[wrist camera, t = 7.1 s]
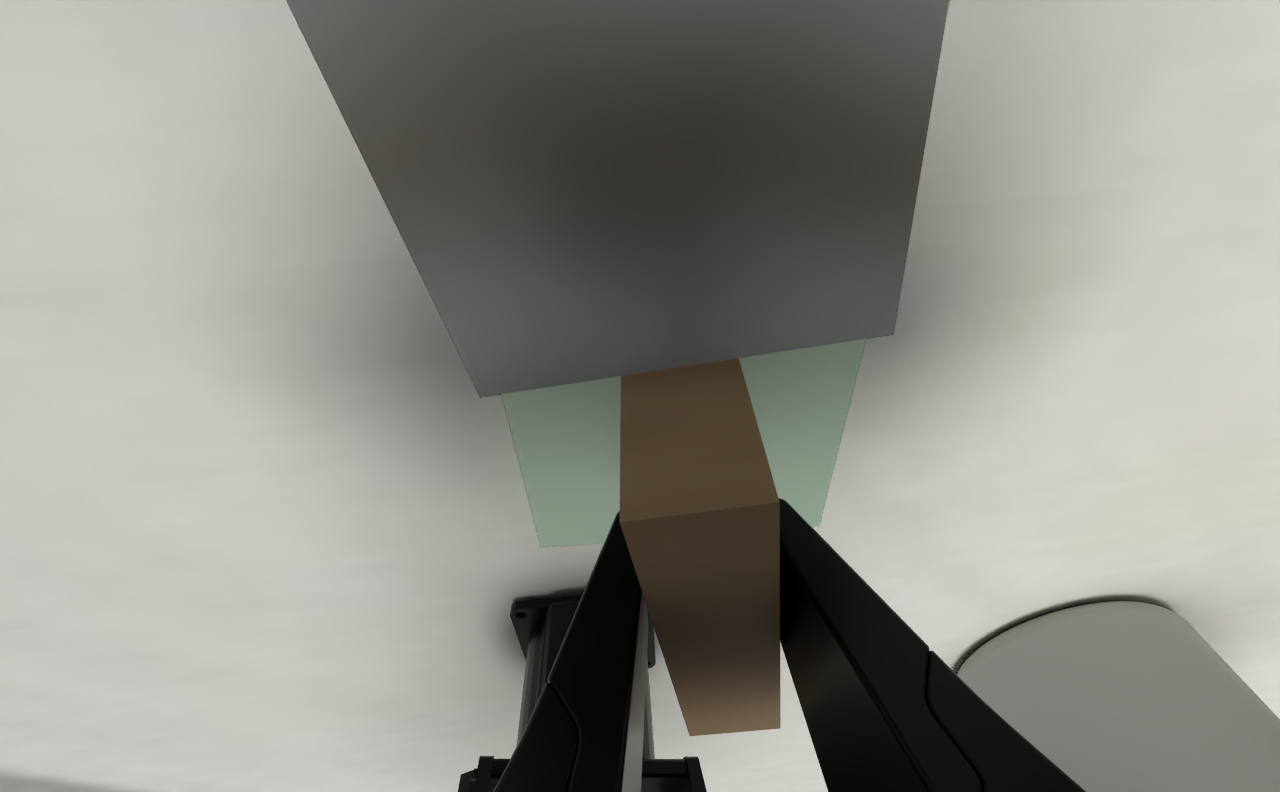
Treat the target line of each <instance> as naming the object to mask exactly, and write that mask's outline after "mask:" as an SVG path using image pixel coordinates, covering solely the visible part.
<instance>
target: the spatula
mask: <svg viewBox="0 0 1280 792" xmlns="http://www.w3.org/2000/svg"><path fill="white" fill-rule="evenodd" d="M286 1H287V3H288V5H289V7H290V9H291V11H292V13H293V15H294V17H295V20H296V22H297V24H298V26H299V28H300V30H301V32H302V34H303V36H304V38H305V40H306V42H307V44H308V46H309V48H310V50H311V52H312V54H313V56H314V58H315V60H316V62H317V65H318V67H319V69H320V71H321V73H322V75H323V77H324V79H325V81H326V83H327V85H328V87H329V89H330V91H331V93H332V95H333V97H334V99H335V101H336V103H337V105H338V108H339V110H340V112H341V114H342V116H343V118H344V120H345V122H346V124H347V126H348V128H349V130H350V132H351V134H352V136H353V138H354V140H355V142H356V144H357V146H358V148H359V150H360V153H361V155H362V157H363V159H364V161H365V163H366V165H367V167H368V169H369V171H370V173H371V175H372V177H373V179H374V181H375V183H376V185H377V187H378V189H379V191H380V193H381V195H382V198H383V200H384V202H385V204H386V206H387V208H388V210H389V212H390V214H391V216H392V218H393V220H394V222H395V224H396V226H397V228H398V230H399V232H400V234H401V236H402V238H403V240H404V243H405V245H406V247H407V249H408V251H409V253H410V255H411V257H412V259H413V261H414V263H415V265H416V267H417V269H418V271H419V273H420V275H421V277H422V279H423V281H424V283H425V286H426V288H427V290H428V292H429V294H430V296H431V298H432V300H433V302H434V304H435V306H436V308H437V310H438V312H439V314H440V316H441V318H442V320H443V322H444V324H445V326H446V328H447V331H448V333H449V335H450V337H451V339H452V341H453V343H454V345H455V347H456V349H457V351H458V353H459V355H460V357H461V359H462V361H463V363H464V365H465V367H466V369H467V371H468V373H469V376H470V378H471V380H472V382H473V384H474V386H475V388H476V390H477V392H478V394H479V396H480V397H487V396H493V395H500V394H506V393H513V392H520V391H526V390H533V389H539V388H546V387H553V386H559V385H566V384H572V383H579V382H585V381H592V380H599V379H605V378H612V377H618V376H621V416H620V525H621V528H622V531H623V534H624V537H625V540H626V543H627V546H628V549H629V553H630V556H631V559H632V562H633V565H634V568H635V571H636V574H637V577H638V580H639V583H640V586H641V589H642V592H643V595H644V598H645V601H646V604H647V607H648V610H649V613H650V616H651V619H652V622H653V625H654V628H655V632H656V635H657V638H658V641H659V644H660V647H661V650H662V653H663V656H664V659H665V662H666V665H667V668H668V671H669V674H670V677H671V680H672V683H673V686H674V689H675V692H676V695H677V698H678V701H679V704H680V707H681V711H682V714H683V717H684V720H685V723H686V726H687V729H688V732H689V735H690V736H696V735H708V734H720V733H731V732H743V731H755V730H766V729H778V728H780V502H779V498H778V495H777V491H776V488H775V484H774V481H773V477H772V474H771V470H770V466H769V463H768V459H767V456H766V452H765V449H764V445H763V442H762V438H761V435H760V431H759V428H758V424H757V421H756V417H755V414H754V410H753V407H752V403H751V399H750V396H749V392H748V389H747V385H746V382H745V378H744V375H743V371H742V368H741V364H740V361H739V358H743V357H750V356H756V355H763V354H770V353H776V352H783V351H789V350H796V349H802V348H809V347H816V346H822V345H829V344H835V343H842V342H849V341H855V340H862V339H868V338H875V337H881V336H888V335H894V329H895V323H896V317H897V311H898V305H899V299H900V293H901V287H902V281H903V275H904V269H905V263H906V257H907V251H908V245H909V239H910V233H911V227H912V221H913V214H914V208H915V202H916V196H917V190H918V184H919V178H920V172H921V166H922V160H923V154H924V148H925V142H926V136H927V130H928V124H929V118H930V112H931V106H932V100H933V94H934V88H935V82H936V76H937V70H938V64H939V58H940V52H941V46H942V40H943V34H944V28H945V22H946V16H947V10H948V4H949V0H286Z"/></svg>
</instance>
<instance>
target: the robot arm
mask: <svg viewBox="0 0 1280 792" xmlns="http://www.w3.org/2000/svg"><path fill="white" fill-rule="evenodd" d="M779 502H780V641H781V644H782V648H783V651H784V654H785V657H786V660H787V663H788V666H789V670H790V673H791V676H792V679H793V682H794V685H795V688H796V691H797V695H798V698H799V701H800V704H801V707H802V710H803V713H804V717H805V720H806V723H807V726H808V729H809V732H810V735H811V738H812V742H813V745H814V748H815V751H816V754H817V757H818V760H819V764H820V767H821V770H822V773H823V776H824V779H825V782H826V785H827V789H828V792H1086V791H1085V790H1084V789H1083V788H1082V787H1080V786H1079V785H1078V784H1077V783H1076V782H1075V781H1074V780H1072V779H1071V778H1070V777H1069V776H1068V775H1067V774H1065V773H1064V772H1063V771H1062V770H1061V769H1060V768H1059V767H1057V766H1056V765H1055V764H1054V763H1053V762H1052V761H1051V760H1049V759H1048V758H1047V757H1046V756H1045V755H1044V754H1043V753H1041V752H1040V751H1039V750H1038V749H1037V748H1036V747H1035V746H1033V745H1032V744H1031V743H1030V742H1029V741H1028V740H1026V739H1025V738H1024V737H1023V736H1022V735H1021V734H1020V733H1018V732H1017V731H1016V730H1015V729H1014V728H1013V727H1012V726H1011V725H1010V724H1008V723H1007V722H1006V721H1005V720H1004V719H1003V718H1002V717H1001V716H1000V715H998V714H997V713H996V712H995V711H994V710H993V709H992V708H991V707H990V706H989V705H987V704H986V703H985V702H984V701H983V700H982V699H981V698H980V697H979V696H978V695H977V694H976V693H975V692H974V691H973V690H972V689H971V688H970V687H969V686H968V685H967V684H966V683H965V682H963V681H962V680H961V679H960V678H959V677H958V676H957V675H956V674H955V673H954V672H953V671H952V670H951V669H950V668H949V667H948V666H947V665H946V664H945V663H944V662H943V661H942V660H941V659H940V657H939V656H938V655H937V654H936V653H935V652H934V651H929V647H928V645H927V644H926V643H925V642H924V641H923V640H922V639H921V638H920V637H919V636H918V635H917V634H916V633H915V632H914V631H913V630H912V629H911V628H910V627H909V626H908V625H907V624H906V623H905V622H904V621H903V620H902V619H901V618H900V617H899V616H898V615H897V614H896V613H895V612H894V611H893V610H892V609H891V608H890V607H889V606H888V605H887V604H886V603H885V602H884V600H883V599H882V598H881V597H880V596H879V595H878V594H877V593H876V592H875V591H874V590H873V589H872V588H871V587H870V586H869V585H868V584H867V583H866V582H865V581H864V580H863V579H862V578H861V577H860V576H859V575H858V574H857V573H856V572H855V571H854V570H853V569H852V568H851V567H850V566H849V565H848V564H847V563H846V562H845V561H844V560H843V559H842V558H841V557H840V556H839V555H838V554H837V552H836V551H835V550H834V549H833V548H832V547H831V546H830V545H829V544H828V543H827V542H826V541H825V540H824V539H823V538H822V537H821V536H820V535H819V534H818V533H817V532H816V531H815V530H814V529H813V528H812V527H811V526H810V525H809V524H808V523H807V522H806V521H805V520H804V519H803V518H802V517H801V516H800V515H799V514H798V513H797V512H796V511H795V510H794V509H793V508H792V507H791V505H790V504H789V503H788V502H787V501H785V500H784V499H780V498H779ZM510 617H511V620H512V622H513V625H514V628H515V631H516V634H517V636H518V639H519V642H520V645H521V648H522V650H523V653H524V656H525V659H526V668H525V677H524V685H523V694H522V703H521V712H520V721H519V730H518V739H517V747H516V749H515V751H514V753H513V755H512V757H511V759H494V756H480V758H479V763H478V769H474V770H472V771H469V772H467V773H464V774H461V777H460V783H459V789H458V792H706V787H705V783H704V779H703V775H702V771H701V767H700V762H699V759H698V757H684V758H683V759H655V757H654V743H653V729H652V715H651V701H650V687H649V674H648V668H651V667H653V666H654V665H655V646H654V628H653V622H652V619H651V616H650V613H649V610H648V607H647V604H646V601H645V598H644V595H643V592H642V589H641V586H640V583H639V580H638V577H637V574H636V571H635V568H634V565H633V562H632V559H631V556H630V553H629V549H628V546H627V543H626V540H625V537H624V534H623V531H622V528H621V525H620V511H619V512H618V513H617V514H616V516H615V519H614V521H613V524H612V526H611V528H610V531H609V533H608V535H607V538H606V540H605V543H604V545H603V547H602V550H601V552H600V555H599V557H598V559H597V562H596V564H595V566H594V569H593V571H592V574H591V576H590V578H589V581H588V583H587V586H586V588H585V590H584V593H583V595H582V596H577V597H565V598H552V599H540V600H528V601H518V602H515V603H513V604H512V606H511V612H510Z"/></svg>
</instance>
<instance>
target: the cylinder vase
mask: <svg viewBox="0 0 1280 792" xmlns="http://www.w3.org/2000/svg"><path fill="white" fill-rule="evenodd" d="M957 676H958V677H959V678H960V679H961V680H962V681H963V682H965V683H966V684H967V685H968V686H969V687H970V688H971V689H972V690H973V691H974V692H975V693H976V694H977V695H978V696H979V697H980V698H981V699H982V700H983V701H984V702H985V703H986V704H987V705H989V706H990V707H991V708H992V709H993V710H994V711H995V712H996V713H997V714H998V715H1000V716H1001V717H1002V718H1003V719H1004V720H1005V721H1006V722H1007V723H1008V724H1010V725H1011V726H1012V727H1013V728H1014V729H1015V730H1016V731H1017V732H1018V733H1020V734H1021V735H1022V736H1023V737H1024V738H1025V739H1026V740H1028V741H1029V742H1030V743H1031V744H1032V745H1033V746H1035V747H1036V748H1037V749H1038V750H1039V751H1040V752H1041V753H1043V754H1044V755H1045V756H1046V757H1047V758H1048V759H1049V760H1051V761H1052V762H1053V763H1054V764H1055V765H1056V766H1057V767H1059V768H1060V769H1061V770H1062V771H1063V772H1064V773H1065V774H1067V775H1068V776H1069V777H1070V778H1071V779H1072V780H1074V781H1075V782H1076V783H1077V784H1078V785H1079V786H1080V787H1082V788H1083V789H1084V790H1085V791H1086V792H1280V719H1279V718H1278V717H1277V716H1276V715H1275V714H1274V713H1273V712H1272V711H1271V710H1270V709H1269V708H1268V706H1267V705H1266V704H1265V703H1264V702H1263V701H1262V700H1261V699H1260V698H1259V697H1258V696H1257V695H1256V694H1255V693H1254V692H1253V691H1252V690H1251V689H1250V687H1249V686H1248V685H1247V684H1246V683H1245V682H1244V681H1243V680H1242V679H1241V678H1240V677H1239V676H1238V675H1237V674H1236V673H1235V672H1234V671H1233V670H1232V669H1231V667H1230V666H1229V665H1228V664H1227V663H1226V662H1225V661H1224V660H1223V659H1222V658H1221V657H1220V656H1219V655H1218V654H1217V653H1216V652H1215V651H1214V650H1213V648H1212V647H1211V646H1210V645H1209V644H1208V643H1207V642H1206V641H1205V640H1204V639H1203V638H1202V637H1201V636H1200V635H1199V634H1198V633H1197V632H1196V631H1195V629H1194V628H1193V627H1192V626H1191V625H1190V624H1189V623H1188V622H1187V621H1186V620H1185V619H1183V618H1182V617H1181V616H1179V615H1178V614H1176V613H1174V612H1173V611H1171V610H1168V609H1166V608H1163V607H1161V606H1157V605H1153V604H1149V603H1143V602H1133V601H1111V602H1100V603H1092V604H1086V605H1080V606H1075V607H1071V608H1067V609H1063V610H1059V611H1056V612H1052V613H1049V614H1046V615H1043V616H1040V617H1037V618H1034V619H1032V620H1029V621H1027V622H1024V623H1022V624H1020V625H1017V626H1015V627H1013V628H1011V629H1009V630H1007V631H1005V632H1003V633H1001V634H999V635H998V636H996V637H994V638H993V639H991V640H990V641H988V642H987V643H985V644H984V645H982V646H981V647H980V648H978V649H977V650H976V651H975V652H974V653H973V654H972V655H971V656H969V658H968V659H967V660H966V661H965V662H964V663H963V665H962V666H961V668H960V670H959V671H958V674H957Z"/></svg>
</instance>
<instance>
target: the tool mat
mask: <svg viewBox="0 0 1280 792" xmlns="http://www.w3.org/2000/svg"><path fill="white" fill-rule="evenodd" d="M950 1H951V0H949V4H948V9H949V5H950ZM947 13H948V10H947ZM946 17H947V16H946ZM865 341H866V339H862V340H855V341H849V342H842V343H835V344H829V345H822V346H816V347H809V348H802V349H796V350H789V351H783V352H776V353H770V354H763V355H756V356H750V357H743V358H739V361H740V364H741V368H742V371H743V375H744V378H745V382H746V385H747V389H748V392H749V396H750V399H751V403H752V407H753V410H754V414H755V417H756V421H757V424H758V428H759V431H760V435H761V438H762V442H763V445H764V449H765V452H766V456H767V459H768V463H769V466H770V470H771V474H772V477H773V481H774V484H775V488H776V491H777V495H778V498H780V499H784V500H785V501H787V502H788V503H789V504H790V505H791V507H792V508H793V509H794V510H795V511H796V512H797V513H798V514H799V515H800V516H801V517H802V518H803V519H804V520H805V521H806V522H807V523H808V524H809V525H810V526H811V527H814V526H819V525H820V521H821V517H822V513H823V509H824V505H825V501H826V497H827V493H828V489H829V485H830V481H831V477H832V473H833V469H834V465H835V461H836V457H837V453H838V449H839V445H840V441H841V437H842V433H843V429H844V425H845V421H846V417H847V413H848V409H849V405H850V401H851V397H852V393H853V389H854V385H855V381H856V377H857V373H858V369H859V365H860V361H861V357H862V353H863V349H864V345H865ZM501 396H502V400H503V404H504V407H505V411H506V415H507V419H508V423H509V427H510V431H511V435H512V439H513V443H514V447H515V450H516V454H517V458H518V462H519V466H520V470H521V474H522V478H523V482H524V486H525V489H526V493H527V497H528V501H529V505H530V509H531V513H532V517H533V521H534V525H535V528H536V532H537V536H538V540H539V544H540V548H547V547H559V546H572V545H585V544H598V543H605V540H606V538H607V535H608V533H609V531H610V528H611V526H612V524H613V521H614V519H615V516H616V514H617V513H618V512H619V511H620V416H621V376H618V377H612V378H605V379H599V380H592V381H585V382H579V383H572V384H566V385H559V386H553V387H546V388H539V389H533V390H526V391H520V392H513V393H506V394H501Z"/></svg>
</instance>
